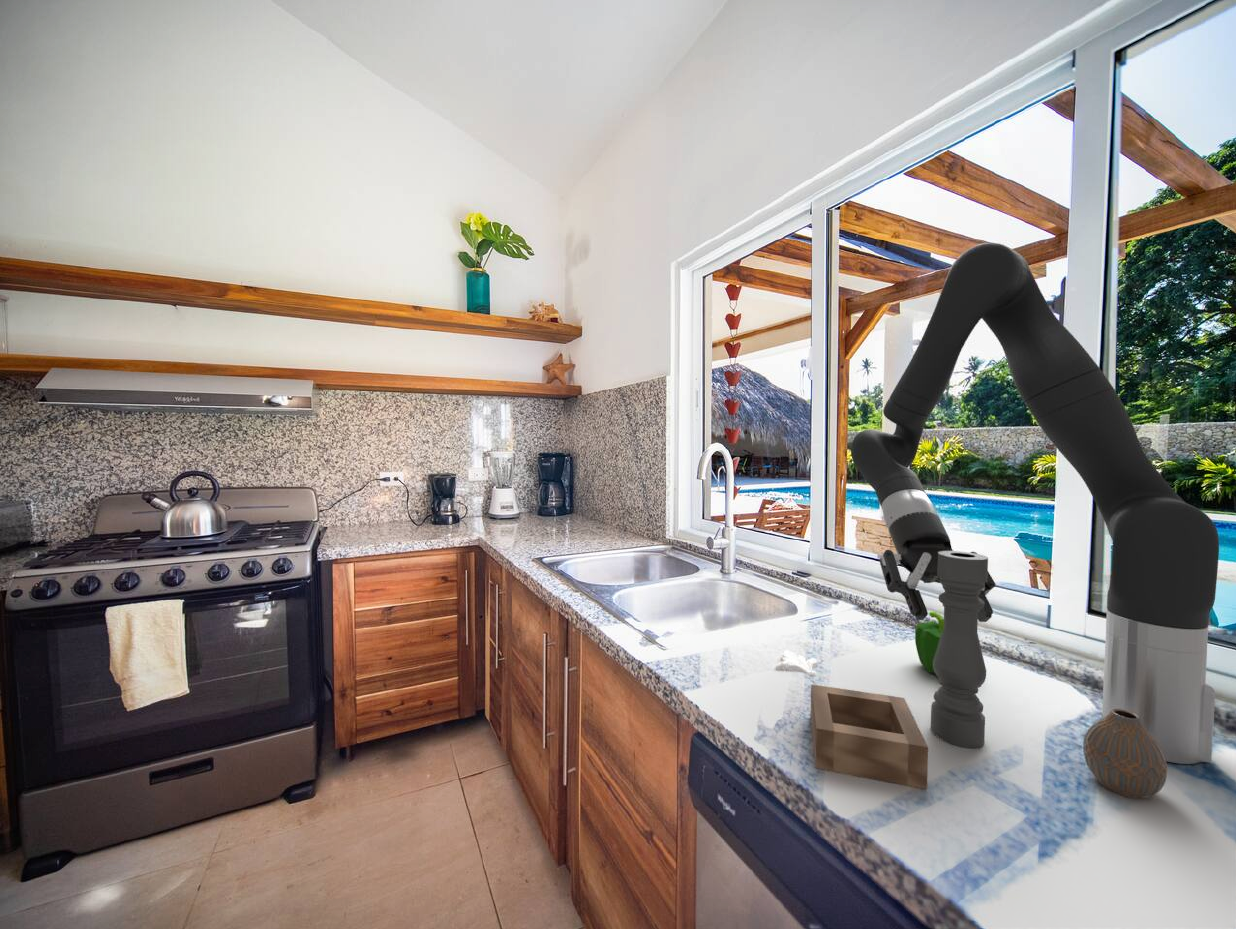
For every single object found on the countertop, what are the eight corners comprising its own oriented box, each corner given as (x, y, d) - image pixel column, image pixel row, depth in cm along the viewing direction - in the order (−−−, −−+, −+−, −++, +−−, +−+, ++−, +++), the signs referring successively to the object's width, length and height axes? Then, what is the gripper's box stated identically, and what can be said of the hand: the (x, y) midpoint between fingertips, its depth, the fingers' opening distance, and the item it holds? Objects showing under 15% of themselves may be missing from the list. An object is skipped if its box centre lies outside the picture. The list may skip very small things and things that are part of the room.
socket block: (903, 733, 69) (904, 697, 69) (926, 789, 58) (928, 747, 58) (810, 717, 73) (811, 684, 73) (815, 767, 62) (816, 728, 62)
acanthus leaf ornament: (775, 673, 89) (775, 663, 89) (778, 658, 95) (778, 648, 95) (821, 680, 86) (821, 669, 86) (821, 664, 92) (821, 654, 92)
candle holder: (932, 740, 68) (938, 557, 67) (928, 718, 73) (933, 548, 72) (988, 753, 65) (995, 562, 64) (980, 729, 70) (986, 553, 70)
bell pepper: (979, 684, 84) (981, 626, 83) (925, 679, 86) (927, 622, 85) (956, 663, 92) (958, 609, 92) (907, 659, 94) (909, 606, 93)
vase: (1079, 760, 64) (1082, 693, 63) (1158, 784, 59) (1162, 711, 59) (1084, 789, 58) (1087, 715, 58) (1171, 817, 54) (1175, 738, 54)
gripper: (876, 509, 79) (912, 604, 68) (970, 510, 78) (1022, 607, 67) (860, 536, 84) (892, 629, 73) (948, 538, 83) (993, 632, 72)
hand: (954, 618), depth 70 cm, fingers open, 8 cm apart
